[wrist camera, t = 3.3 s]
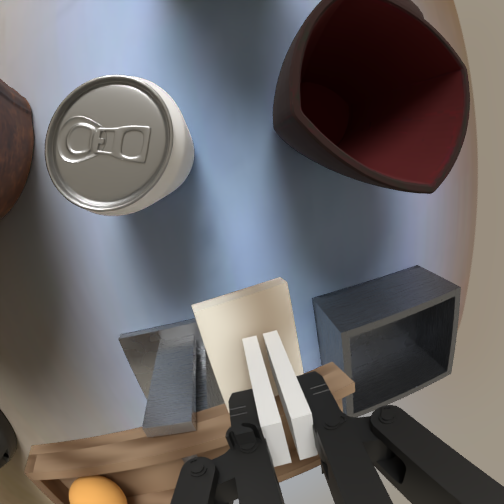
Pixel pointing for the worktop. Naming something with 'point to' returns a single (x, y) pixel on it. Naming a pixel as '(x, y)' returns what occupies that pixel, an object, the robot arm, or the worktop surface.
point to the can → (118, 145)
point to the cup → (374, 94)
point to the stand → (172, 376)
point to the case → (14, 146)
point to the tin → (389, 335)
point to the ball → (96, 491)
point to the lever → (207, 421)
